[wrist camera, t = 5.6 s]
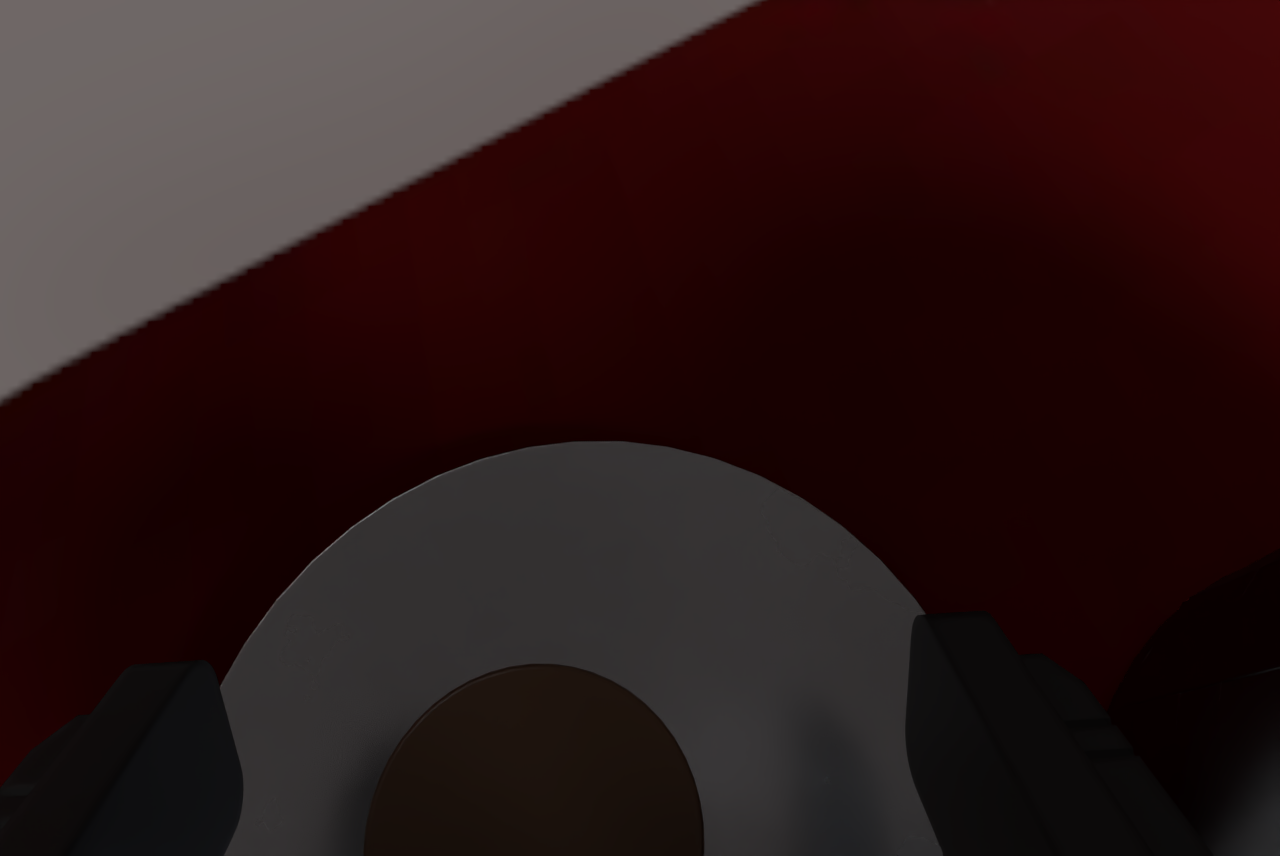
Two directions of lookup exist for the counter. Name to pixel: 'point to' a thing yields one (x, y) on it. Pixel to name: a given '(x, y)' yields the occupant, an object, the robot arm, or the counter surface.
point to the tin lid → (582, 673)
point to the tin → (1214, 710)
